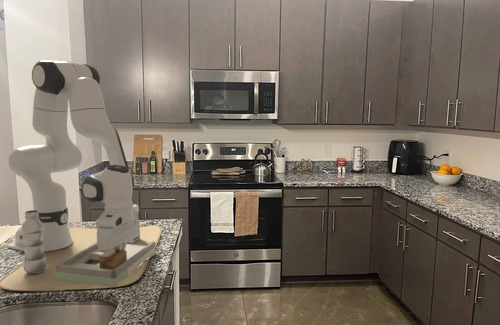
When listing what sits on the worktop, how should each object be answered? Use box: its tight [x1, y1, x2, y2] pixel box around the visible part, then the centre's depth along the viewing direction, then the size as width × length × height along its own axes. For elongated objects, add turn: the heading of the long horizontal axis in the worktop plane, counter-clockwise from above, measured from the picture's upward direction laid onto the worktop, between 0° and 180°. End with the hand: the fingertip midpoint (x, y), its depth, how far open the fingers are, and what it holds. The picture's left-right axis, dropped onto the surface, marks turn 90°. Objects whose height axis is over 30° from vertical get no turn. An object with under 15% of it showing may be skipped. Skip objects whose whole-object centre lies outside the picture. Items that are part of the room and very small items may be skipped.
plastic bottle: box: [20, 209, 48, 275], centre depth 119 cm, size 6×7×20 cm
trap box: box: [54, 240, 156, 287], centre depth 126 cm, size 20×27×4 cm
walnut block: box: [99, 249, 127, 270], centre depth 120 cm, size 6×6×4 cm
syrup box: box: [127, 203, 141, 244], centre depth 149 cm, size 6×6×14 cm
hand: (120, 254), depth 125 cm, fingers closed
